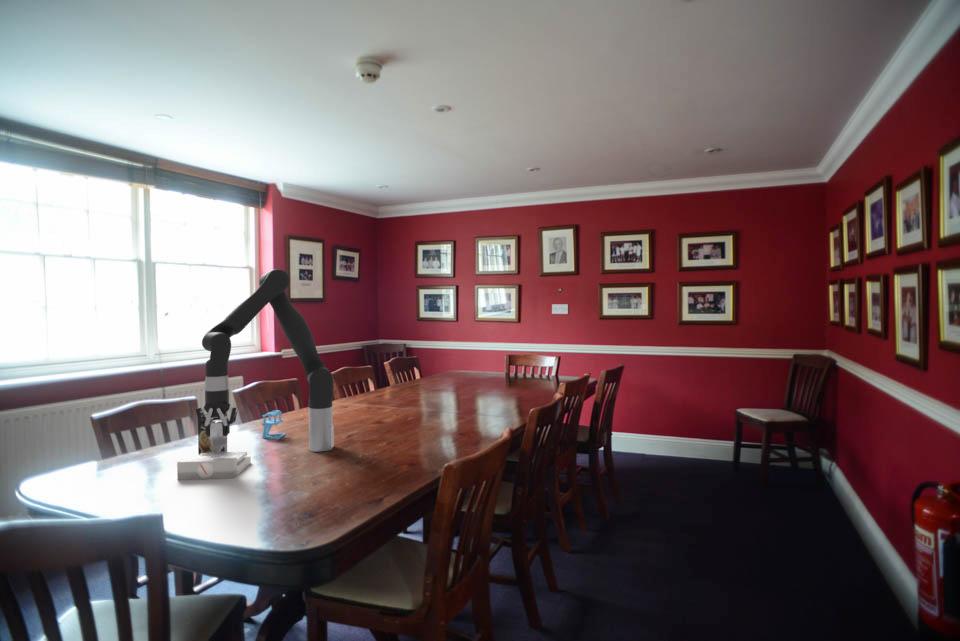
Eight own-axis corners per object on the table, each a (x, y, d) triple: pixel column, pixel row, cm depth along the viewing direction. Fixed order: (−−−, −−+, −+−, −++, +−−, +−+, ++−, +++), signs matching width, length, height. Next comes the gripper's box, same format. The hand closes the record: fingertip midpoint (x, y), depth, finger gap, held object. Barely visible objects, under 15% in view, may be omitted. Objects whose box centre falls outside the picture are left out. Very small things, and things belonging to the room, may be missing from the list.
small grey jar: (227, 436, 180) (227, 419, 180) (222, 440, 175) (222, 423, 175) (213, 436, 180) (213, 419, 179) (207, 440, 175) (207, 423, 174)
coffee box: (197, 457, 191) (196, 415, 190) (213, 453, 197) (212, 412, 196) (212, 461, 187) (211, 418, 186) (228, 456, 192) (227, 414, 192)
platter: (247, 454, 184) (247, 451, 184) (235, 464, 173) (235, 461, 173) (201, 456, 182) (201, 452, 182) (187, 466, 171) (186, 462, 171)
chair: (267, 434, 224) (266, 408, 223) (285, 435, 224) (285, 408, 223) (259, 439, 216) (258, 412, 216) (278, 439, 216) (277, 412, 215)
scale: (250, 462, 184) (250, 446, 184) (233, 478, 168) (232, 461, 168) (199, 464, 183) (199, 448, 182) (176, 480, 166) (176, 462, 166)
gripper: (242, 386, 181) (242, 432, 182) (200, 386, 180) (201, 433, 180) (233, 390, 174) (234, 438, 174) (190, 390, 172) (191, 439, 173)
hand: (217, 435), depth 177 cm, fingers closed on small grey jar, 5 cm apart
